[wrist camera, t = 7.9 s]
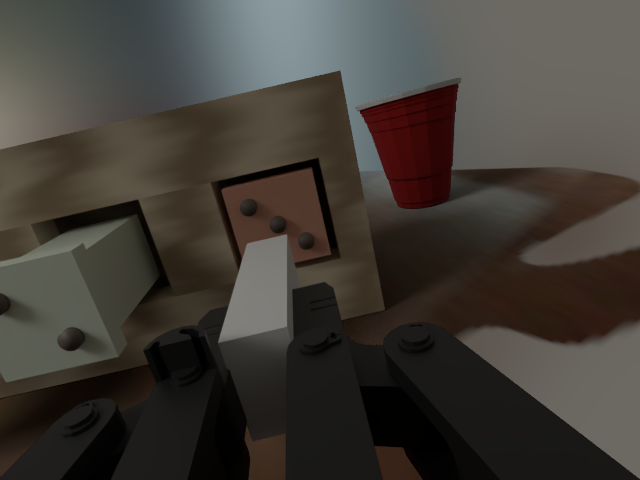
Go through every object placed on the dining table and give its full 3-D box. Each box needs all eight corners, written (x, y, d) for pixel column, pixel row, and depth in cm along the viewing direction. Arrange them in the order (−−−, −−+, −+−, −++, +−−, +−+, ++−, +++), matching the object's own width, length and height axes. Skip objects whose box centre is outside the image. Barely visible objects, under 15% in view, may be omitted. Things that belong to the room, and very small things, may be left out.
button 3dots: (245, 276, 23) (220, 191, 21) (257, 232, 31) (239, 168, 29) (331, 256, 23) (312, 170, 21) (321, 217, 31) (306, 153, 29)
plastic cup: (422, 183, 52) (409, 86, 48) (494, 190, 43) (485, 70, 39) (354, 209, 48) (334, 104, 44) (418, 223, 38) (399, 92, 35)
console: (-86, 417, 25) (-233, 203, 21) (21, 329, 35) (-63, 171, 31) (385, 310, 25) (340, 70, 20) (358, 251, 35) (324, 82, 30)
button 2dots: (-1, 388, 17) (-62, 283, 15) (92, 298, 25) (58, 223, 23) (114, 362, 17) (65, 254, 15) (171, 280, 25) (142, 203, 23)
